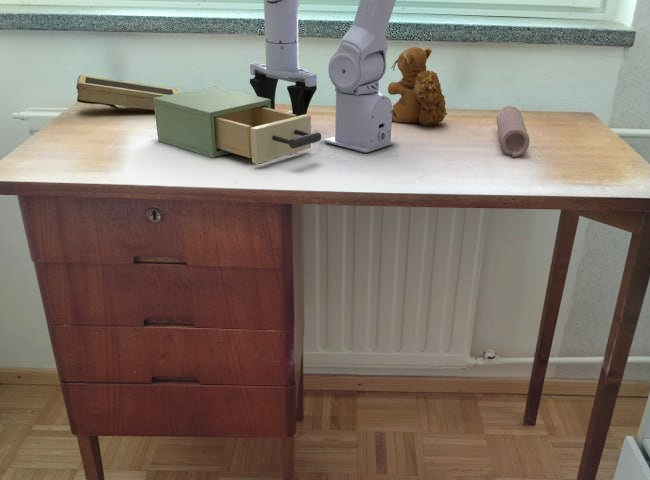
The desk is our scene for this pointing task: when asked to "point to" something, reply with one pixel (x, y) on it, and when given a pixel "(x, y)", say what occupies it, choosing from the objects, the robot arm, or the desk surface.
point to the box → (119, 92)
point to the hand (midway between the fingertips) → (283, 121)
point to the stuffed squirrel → (417, 90)
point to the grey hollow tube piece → (512, 131)
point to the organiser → (199, 116)
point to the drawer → (263, 133)
